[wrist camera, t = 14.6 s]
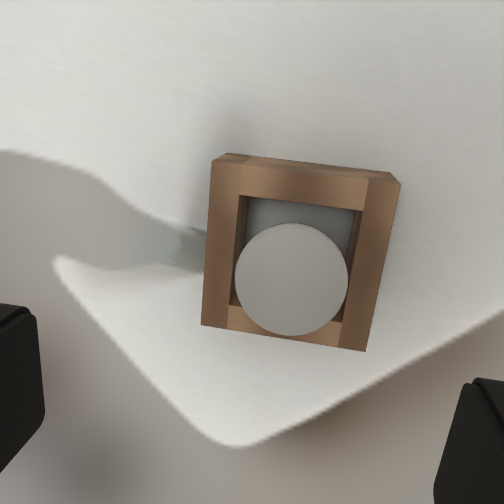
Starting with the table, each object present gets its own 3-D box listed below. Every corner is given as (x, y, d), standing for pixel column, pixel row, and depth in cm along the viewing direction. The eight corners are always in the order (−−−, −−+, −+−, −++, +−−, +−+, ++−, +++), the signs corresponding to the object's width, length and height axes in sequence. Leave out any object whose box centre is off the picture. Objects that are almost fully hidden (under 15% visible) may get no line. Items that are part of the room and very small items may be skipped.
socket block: (389, 172, 29) (401, 184, 25) (359, 319, 33) (365, 351, 29) (226, 152, 31) (212, 161, 26) (215, 297, 34) (200, 324, 30)
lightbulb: (304, 292, 33) (297, 379, 23) (239, 243, 33) (201, 309, 22) (359, 231, 31) (379, 295, 21) (290, 177, 30) (274, 216, 20)
